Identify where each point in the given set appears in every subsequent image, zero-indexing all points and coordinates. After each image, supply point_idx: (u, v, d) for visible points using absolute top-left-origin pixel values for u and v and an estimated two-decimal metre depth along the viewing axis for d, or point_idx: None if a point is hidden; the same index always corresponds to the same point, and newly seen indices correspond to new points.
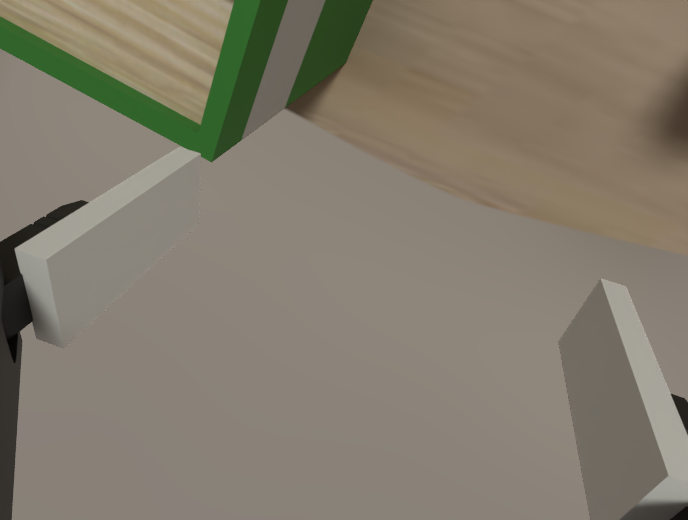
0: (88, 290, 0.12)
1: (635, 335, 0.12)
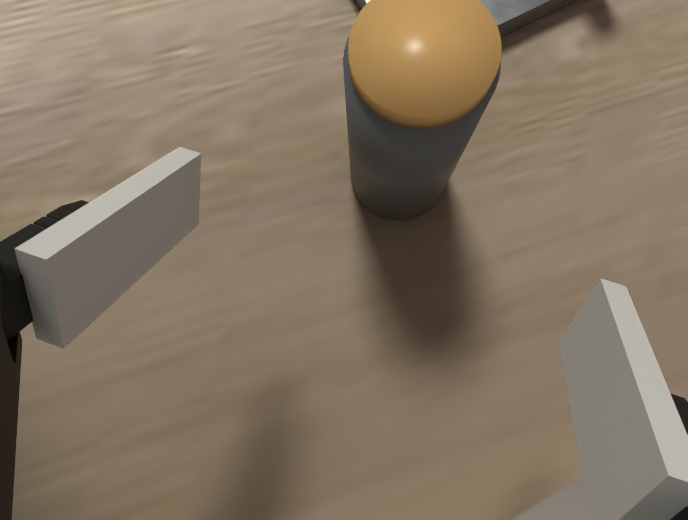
0: (88, 290, 0.12)
1: (635, 335, 0.12)
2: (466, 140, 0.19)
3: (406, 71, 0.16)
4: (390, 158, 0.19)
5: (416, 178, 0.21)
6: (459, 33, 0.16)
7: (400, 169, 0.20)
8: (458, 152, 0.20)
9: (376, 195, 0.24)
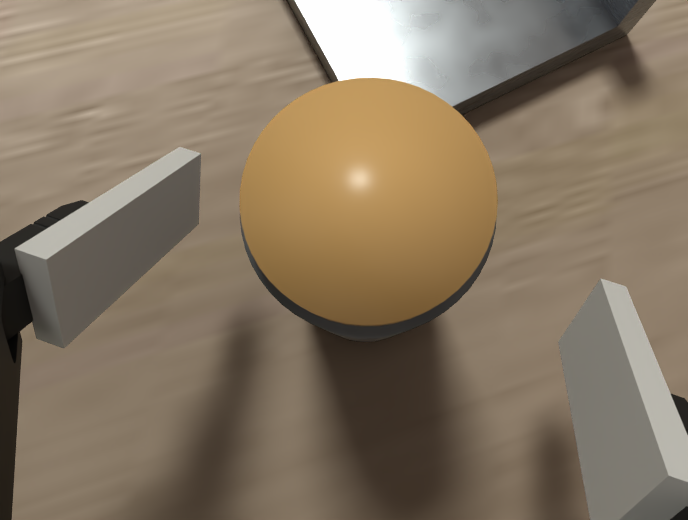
0: (88, 290, 0.12)
1: (635, 335, 0.12)
2: None
3: (335, 239, 0.09)
4: None
5: (374, 339, 0.14)
6: (426, 172, 0.10)
7: (347, 337, 0.13)
8: None
9: None
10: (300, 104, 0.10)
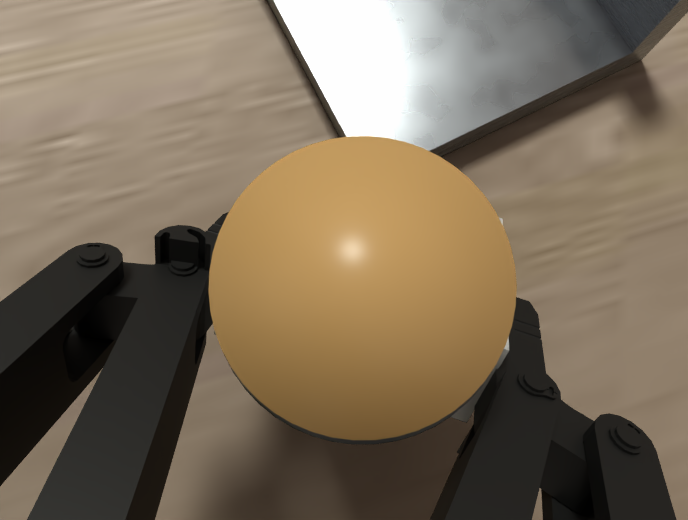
0: None
1: None
2: None
3: (323, 333, 0.08)
4: None
5: None
6: (431, 250, 0.08)
7: None
8: None
9: None
10: (282, 167, 0.08)
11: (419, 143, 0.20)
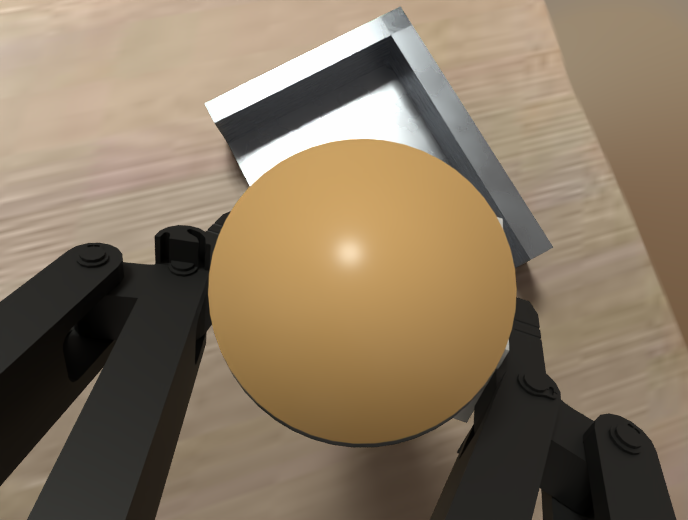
0: None
1: None
2: None
3: (323, 336, 0.08)
4: None
5: None
6: (431, 253, 0.08)
7: None
8: None
9: None
10: (282, 170, 0.08)
11: None
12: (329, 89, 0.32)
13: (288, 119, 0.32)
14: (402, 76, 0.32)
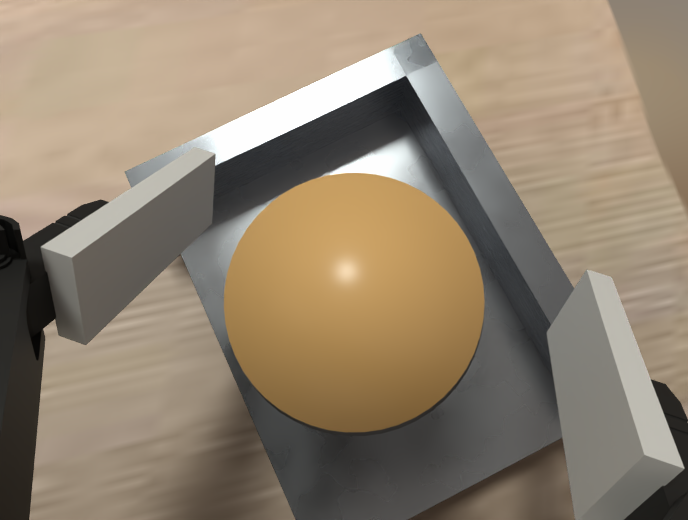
0: (109, 288, 0.12)
1: (618, 323, 0.12)
2: None
3: (320, 342, 0.09)
4: None
5: None
6: (412, 271, 0.09)
7: None
8: None
9: None
10: (285, 200, 0.10)
11: None
12: (314, 147, 0.22)
13: (254, 188, 0.23)
14: (420, 132, 0.22)
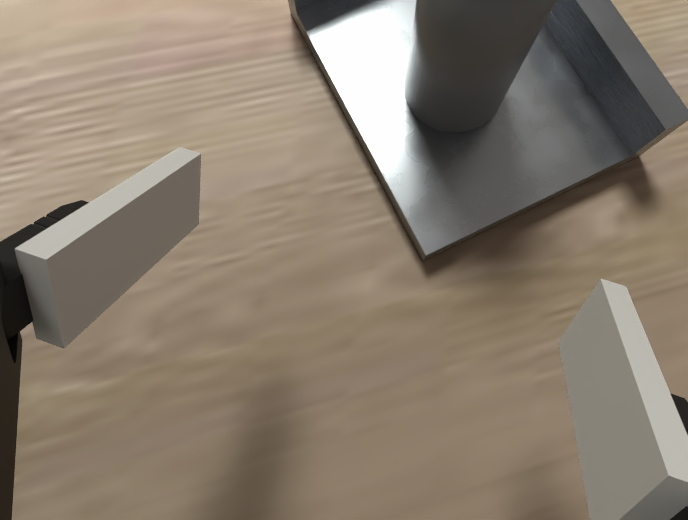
0: (88, 290, 0.12)
1: (635, 335, 0.12)
2: (551, 4, 0.18)
3: None
4: (471, 22, 0.18)
5: (491, 56, 0.20)
6: None
7: (478, 41, 0.19)
8: (539, 23, 0.19)
9: (439, 93, 0.23)
10: None
11: (464, 227, 0.25)
12: None
13: None
14: None
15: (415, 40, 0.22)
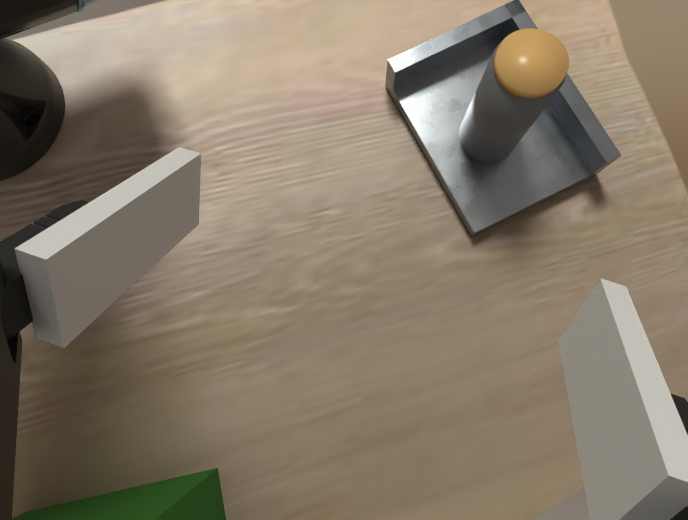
0: (88, 290, 0.12)
1: (635, 335, 0.12)
2: None
3: (524, 71, 0.34)
4: (506, 116, 0.37)
5: (514, 129, 0.39)
6: (548, 54, 0.34)
7: (509, 123, 0.38)
8: (539, 114, 0.38)
9: (484, 143, 0.42)
10: (511, 35, 0.35)
11: (496, 216, 0.44)
12: (463, 54, 0.47)
13: (434, 74, 0.47)
14: None
15: (472, 116, 0.41)
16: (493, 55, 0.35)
